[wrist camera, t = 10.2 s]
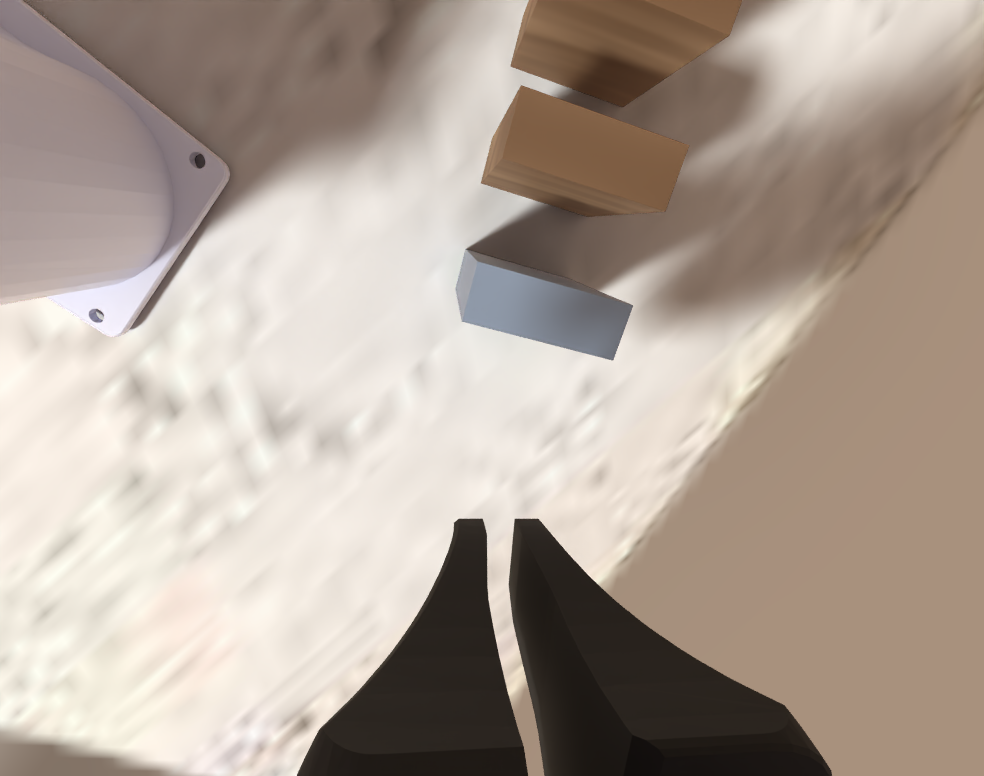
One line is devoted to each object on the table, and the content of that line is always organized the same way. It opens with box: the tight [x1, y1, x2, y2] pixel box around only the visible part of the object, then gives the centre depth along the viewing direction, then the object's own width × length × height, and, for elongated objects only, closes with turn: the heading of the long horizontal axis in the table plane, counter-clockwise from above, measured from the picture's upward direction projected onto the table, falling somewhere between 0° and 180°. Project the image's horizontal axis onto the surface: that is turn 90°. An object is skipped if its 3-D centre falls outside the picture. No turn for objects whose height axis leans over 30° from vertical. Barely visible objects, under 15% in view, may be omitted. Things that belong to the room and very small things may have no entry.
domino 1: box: [511, 0, 742, 107], centre depth 14 cm, size 2×4×7 cm, turn 74°
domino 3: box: [456, 249, 633, 360], centre depth 16 cm, size 2×4×7 cm, turn 74°
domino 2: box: [481, 85, 689, 217], centre depth 15 cm, size 2×4×7 cm, turn 74°
